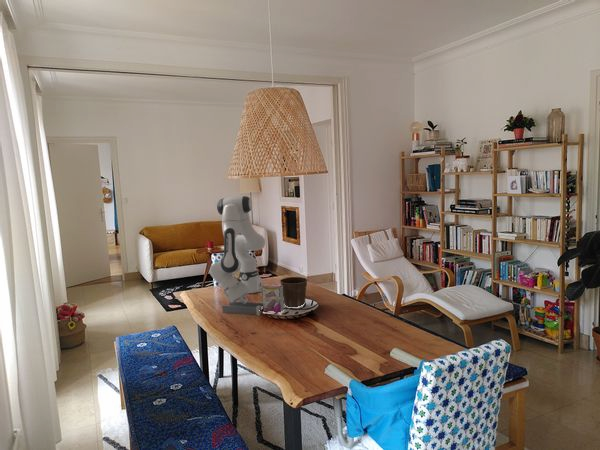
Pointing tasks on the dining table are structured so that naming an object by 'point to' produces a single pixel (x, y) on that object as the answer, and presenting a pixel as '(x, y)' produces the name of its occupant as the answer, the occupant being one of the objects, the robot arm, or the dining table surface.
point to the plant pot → (294, 291)
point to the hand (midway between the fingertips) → (246, 302)
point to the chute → (243, 308)
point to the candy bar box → (272, 297)
